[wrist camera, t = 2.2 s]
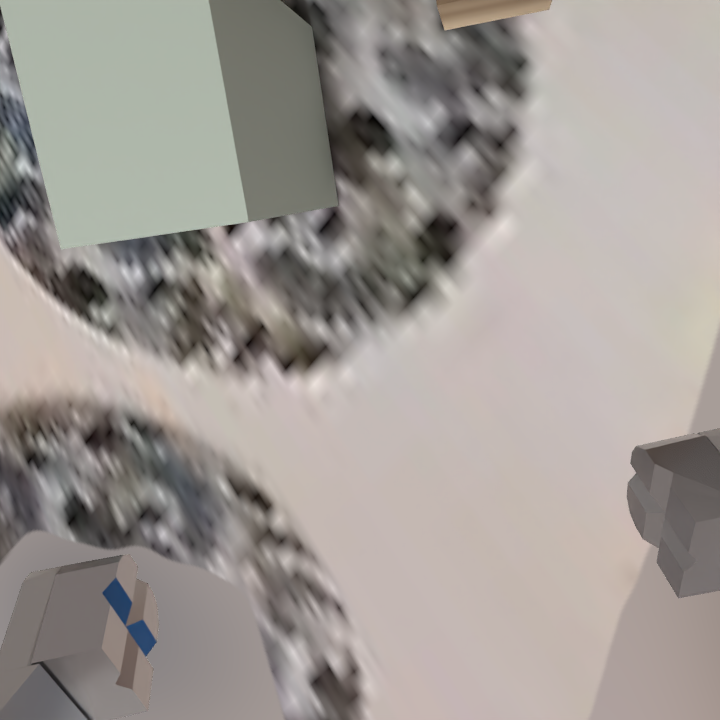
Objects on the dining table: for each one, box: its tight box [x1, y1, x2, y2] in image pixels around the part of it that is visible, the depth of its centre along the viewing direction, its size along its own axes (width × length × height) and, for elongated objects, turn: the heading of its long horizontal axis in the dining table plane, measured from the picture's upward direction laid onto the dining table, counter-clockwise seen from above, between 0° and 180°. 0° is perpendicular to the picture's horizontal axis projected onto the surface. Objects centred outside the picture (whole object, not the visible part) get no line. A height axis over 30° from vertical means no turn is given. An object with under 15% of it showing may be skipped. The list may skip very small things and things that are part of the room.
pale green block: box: [0, 0, 339, 249], centre depth 36 cm, size 9×11×17 cm
